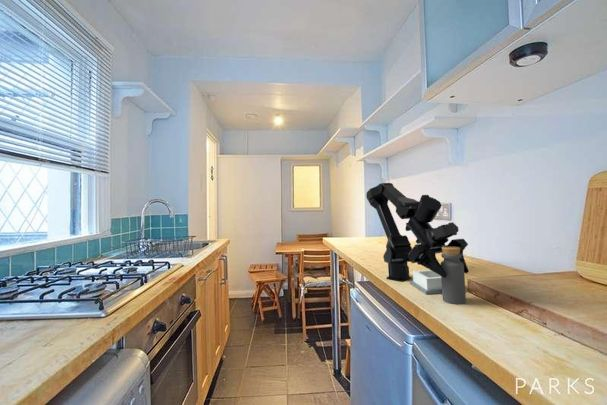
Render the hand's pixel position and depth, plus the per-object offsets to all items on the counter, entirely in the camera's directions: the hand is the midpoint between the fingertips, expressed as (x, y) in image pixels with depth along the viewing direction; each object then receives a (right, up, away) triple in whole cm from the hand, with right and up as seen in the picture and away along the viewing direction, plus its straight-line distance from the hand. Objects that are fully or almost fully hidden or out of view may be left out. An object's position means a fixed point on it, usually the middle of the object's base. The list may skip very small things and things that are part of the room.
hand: (456, 274), depth 79 cm
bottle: (0, -8, +1) cm, 8 cm away
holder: (+1, -8, +14) cm, 16 cm away
